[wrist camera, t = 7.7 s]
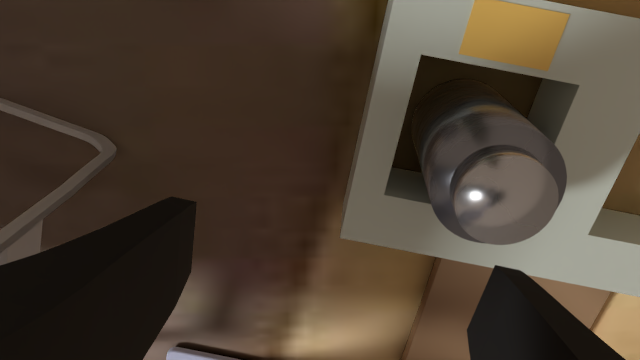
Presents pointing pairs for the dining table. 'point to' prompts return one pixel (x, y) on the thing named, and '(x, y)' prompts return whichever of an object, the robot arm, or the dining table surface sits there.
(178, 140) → the dining table surface
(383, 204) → the port box
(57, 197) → the chair
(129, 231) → the robot arm
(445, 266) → the brown square tile
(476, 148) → the plug
